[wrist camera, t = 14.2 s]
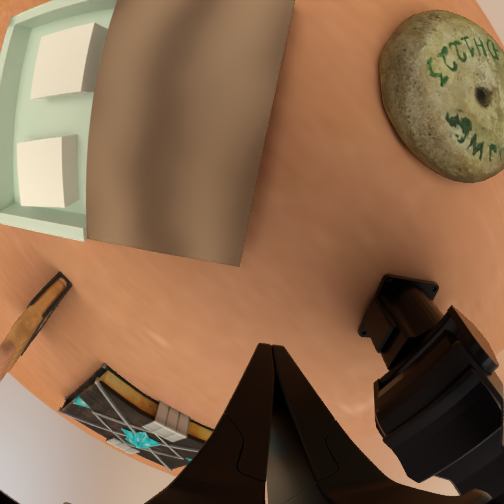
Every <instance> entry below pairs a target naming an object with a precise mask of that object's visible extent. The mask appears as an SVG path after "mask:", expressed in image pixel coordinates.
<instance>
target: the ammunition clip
mask: <svg viewBox="0 0 504 504" xmlns="http://www.w3.org/2000/svg"><path fill="white" fill-rule="evenodd" d="M71 287H72V284H71V283H70V282H69V281H68V280H67V279H66V278H65V277H64V276H63V275H62V274H61V273H60V272H59V273H58V274H57V275H56V276H55V277H54V278H53V279H52V280H51V281H50V282H49V283H48V284H47V285H46V286H45V287H44V288H43V289H42V290H41V291H40V292H39V293H38V294H37V295H36V296H35V297H34V298H33V299H32V301H31V302H30V303H29V305H28V307H27V309H26V310H25V311H24V313H23V314H22V315H21V316H20V317H19V318H18V320H17V321H16V322H15V323H14V325H13V326H12V328H11V330H10V332H9V334H8V335H7V336H6V338H5V340H4V341H3V342H2V344H1V345H0V381H1V380H2V378H3V377H4V376H5V375H6V373H7V372H9V371H10V370H11V368H12V367H13V365H14V364H15V362H16V361H17V360H18V358H19V357H20V355H21V356H22V355H23V353H24V352H25V350H26V349H27V348H28V346H29V345H30V343H31V342H32V341H33V339H34V338H35V337H36V335H37V334H38V333H39V331H40V330H41V329H42V327H43V326H44V324H45V323H46V321H47V320H48V318H49V317H50V316H51V314H52V313H53V311H54V310H55V308H56V307H57V306H58V304H59V303H60V301H61V300H62V299H63V297H64V296H65V295H66V293H67V292H68V291H69V289H70V288H71Z"/></svg>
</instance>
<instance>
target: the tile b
mask: <svg viewBox="0 0 504 504" xmlns="http://www.w3.org/2000/svg"><path fill="white" fill-rule="evenodd" d="M107 31H108V29H107V28H105V27H103V26H101V25H99V24H97V23H95V22H94V23H89V24H85V25H81V26H77V27H73V28H69V29H65V30H62V31H58V32H55V33H52V34H49V35H45V36H42V37H41V41H40V45H39V49H38V54H37V58H36V64H35V69H34V75H33V81H32V88H31V96H30V99H49V98H55V97H62V96H70V95H78V94H88V93H94V90H95V84H96V78H97V73H98V68H99V64H100V59H101V55H102V50H103V46H104V42H105V39H106V35H107Z"/></svg>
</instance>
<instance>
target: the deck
mask: <svg viewBox="0 0 504 504" xmlns="http://www.w3.org/2000/svg"><path fill="white" fill-rule="evenodd" d="M294 4H295V0H117V3H116V5H115V8H114V11H113V15H112V18H111V21H110V24H109V28H108V31H107V35H106V39H105V42H104V46H103V50H102V55H101V59H100V64H99V68H98V73H97V78H96V84H95V90H94V96H93V102H92V110H91V117H90V126H89V136H88V149H87V167H86V225H87V239H91V240H96V241H101V242H106V243H111V244H117V245H122V246H127V247H132V248H138V249H143V250H148V251H154V252H159V253H164V254H170V255H175V256H181V257H186V258H192V259H197V260H203V261H209V262H214V263H220V264H226V265H231V266H237V267H240V262H241V257H242V252H243V247H244V242H245V237H246V232H247V227H248V222H249V217H250V212H251V207H252V202H253V197H254V192H255V187H256V182H257V177H258V172H259V167H260V163H261V158H262V153H263V148H264V143H265V138H266V134H267V129H268V124H269V119H270V114H271V110H272V105H273V100H274V96H275V91H276V86H277V82H278V77H279V72H280V68H281V63H282V58H283V54H284V49H285V45H286V40H287V35H288V31H289V26H290V22H291V17H292V13H293V8H294Z"/></svg>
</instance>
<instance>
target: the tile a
mask: <svg viewBox="0 0 504 504" xmlns="http://www.w3.org/2000/svg"><path fill="white" fill-rule="evenodd" d="M17 167H18V181H19V192H20V201H21V206H36V207H59V208H65V207H67V206H69V205H70V204H72V203H74V202H76V201H77V200H79V192H78V171H77V134H74V135H64V136H55V137H48V138H40V139H34V140H29V141H24V142H20V143H17Z"/></svg>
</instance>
